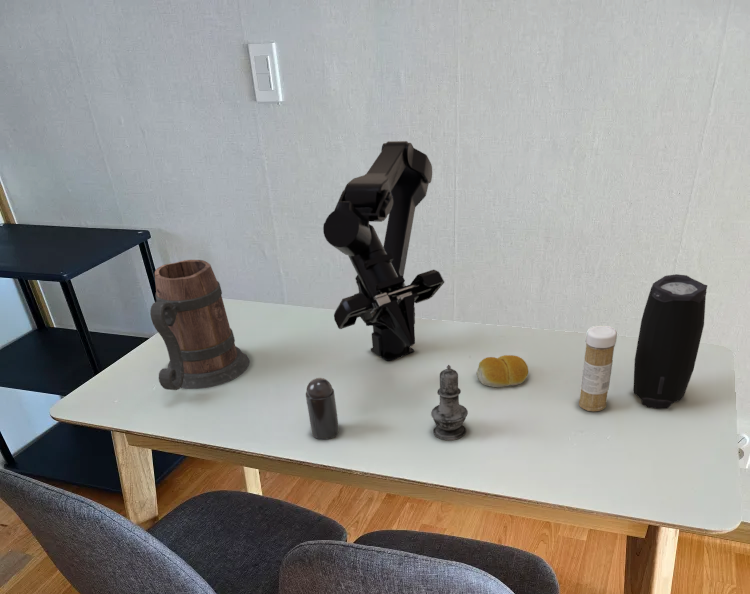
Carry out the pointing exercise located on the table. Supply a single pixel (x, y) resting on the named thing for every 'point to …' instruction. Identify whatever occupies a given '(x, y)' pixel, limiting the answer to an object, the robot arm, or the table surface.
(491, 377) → the bread roll
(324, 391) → the pepper pot
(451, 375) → the grey turned piece
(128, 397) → the table surface
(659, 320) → the portable speaker
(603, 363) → the sprinkles bottle
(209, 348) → the tankard
